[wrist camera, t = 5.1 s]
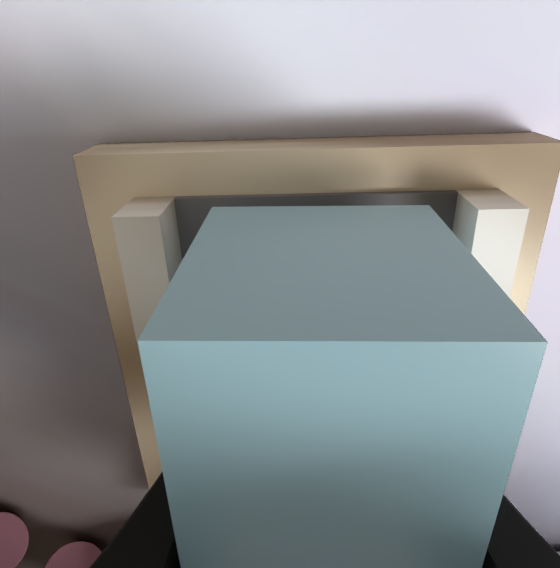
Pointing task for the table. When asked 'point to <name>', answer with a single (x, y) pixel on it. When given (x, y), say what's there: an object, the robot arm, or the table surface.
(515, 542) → the robot arm
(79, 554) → the pink knobbed toy
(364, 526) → the light blue rectangular block
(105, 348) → the table surface
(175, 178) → the display stand
